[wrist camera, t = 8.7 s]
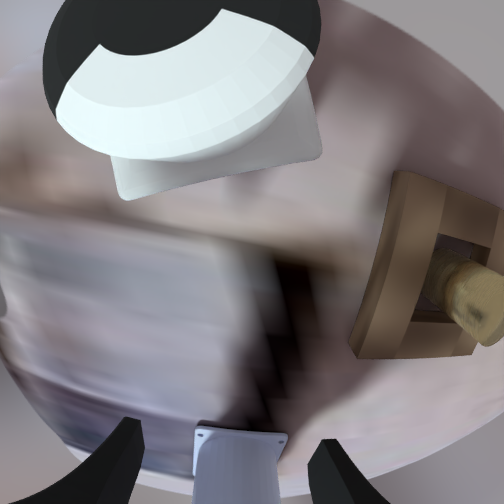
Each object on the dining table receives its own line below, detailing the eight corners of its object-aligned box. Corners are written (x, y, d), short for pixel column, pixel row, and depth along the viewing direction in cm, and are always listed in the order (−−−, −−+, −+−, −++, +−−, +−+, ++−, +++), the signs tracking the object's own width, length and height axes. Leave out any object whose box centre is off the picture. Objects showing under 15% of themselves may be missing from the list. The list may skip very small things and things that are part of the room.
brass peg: (448, 300, 18) (503, 344, 12) (412, 297, 18) (468, 348, 11) (463, 251, 17) (527, 284, 11) (427, 244, 17) (495, 279, 10)
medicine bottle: (147, 77, 14) (23, -22, 2) (266, 50, 14) (299, -104, 2) (168, 189, 16) (24, 237, 4) (292, 163, 16) (405, 150, 4)
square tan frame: (459, 343, 20) (471, 354, 18) (348, 342, 19) (357, 358, 17) (502, 213, 17) (518, 217, 15) (394, 170, 16) (410, 171, 14)
